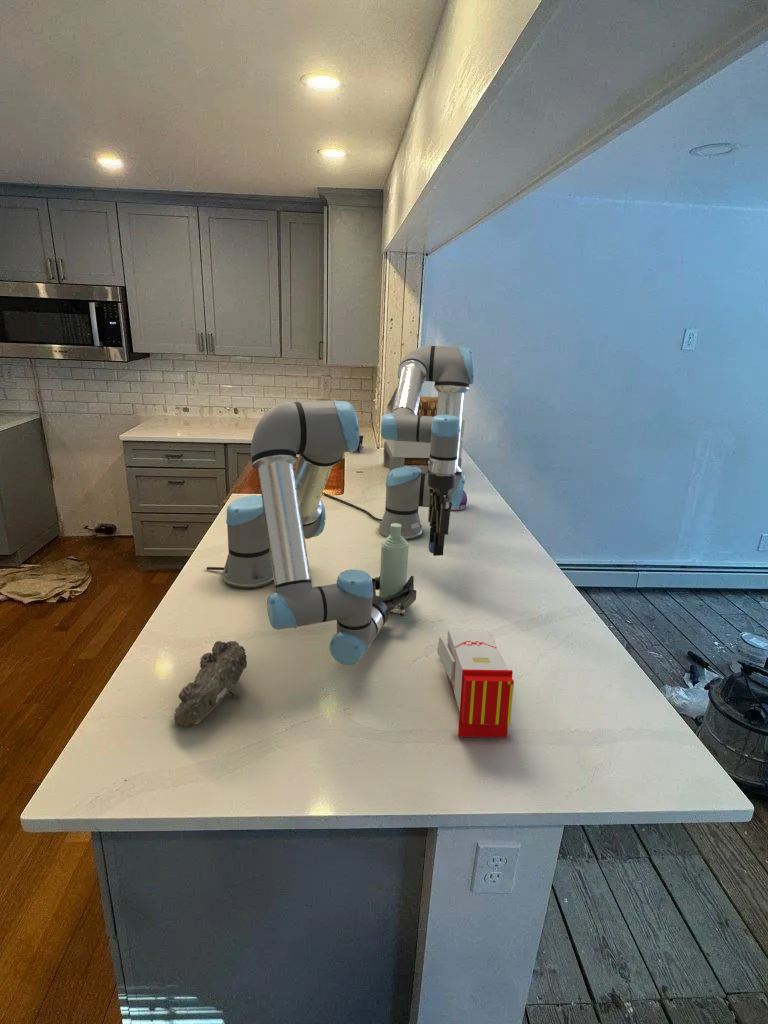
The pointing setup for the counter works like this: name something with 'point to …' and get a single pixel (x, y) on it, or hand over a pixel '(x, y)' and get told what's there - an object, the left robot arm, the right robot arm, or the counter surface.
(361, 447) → the figurine character
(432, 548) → the cap
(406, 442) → the white slatted crate
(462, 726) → the toy
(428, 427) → the right robot arm
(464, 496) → the figurine
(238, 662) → the fossil
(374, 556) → the counter surface
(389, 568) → the bottle
